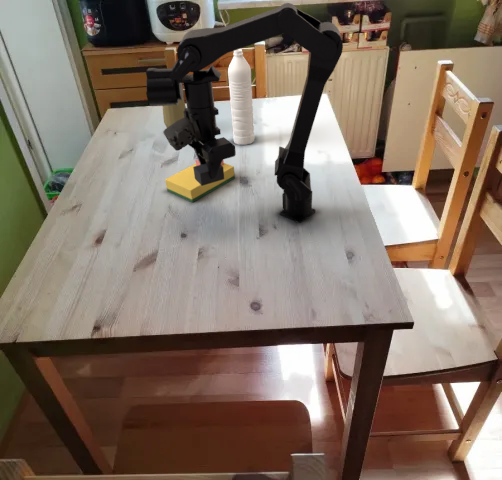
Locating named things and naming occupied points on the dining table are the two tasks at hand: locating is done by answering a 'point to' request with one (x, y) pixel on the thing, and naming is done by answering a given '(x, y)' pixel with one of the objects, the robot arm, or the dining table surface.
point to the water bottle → (241, 99)
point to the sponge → (195, 183)
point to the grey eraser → (207, 174)
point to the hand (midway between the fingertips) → (209, 174)
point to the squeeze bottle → (173, 113)
